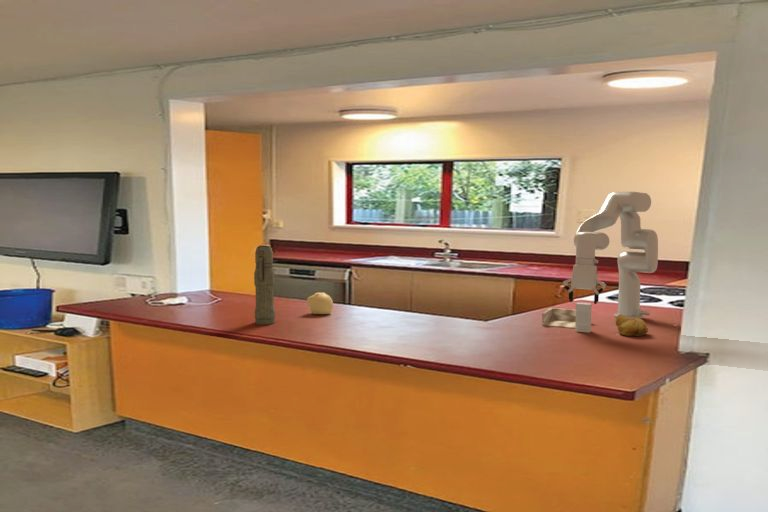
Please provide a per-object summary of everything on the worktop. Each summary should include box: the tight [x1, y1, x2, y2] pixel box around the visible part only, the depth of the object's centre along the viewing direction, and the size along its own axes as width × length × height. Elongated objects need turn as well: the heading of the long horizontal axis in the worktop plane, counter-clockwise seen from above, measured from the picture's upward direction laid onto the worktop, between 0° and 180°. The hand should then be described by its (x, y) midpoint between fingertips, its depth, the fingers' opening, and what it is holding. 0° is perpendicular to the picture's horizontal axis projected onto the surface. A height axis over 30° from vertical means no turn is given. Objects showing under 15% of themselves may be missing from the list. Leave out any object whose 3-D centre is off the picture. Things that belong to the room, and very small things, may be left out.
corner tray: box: [541, 307, 576, 330], centre depth 250 cm, size 18×16×6 cm
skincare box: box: [574, 302, 592, 334], centre depth 235 cm, size 6×4×12 cm
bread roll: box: [615, 314, 649, 337], centre depth 229 cm, size 13×10×8 cm
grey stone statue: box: [253, 245, 276, 326], centre depth 250 cm, size 9×12×35 cm
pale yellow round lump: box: [306, 291, 334, 315], centre depth 274 cm, size 11×12×11 cm
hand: (583, 302), depth 234 cm, fingers open, 9 cm apart
